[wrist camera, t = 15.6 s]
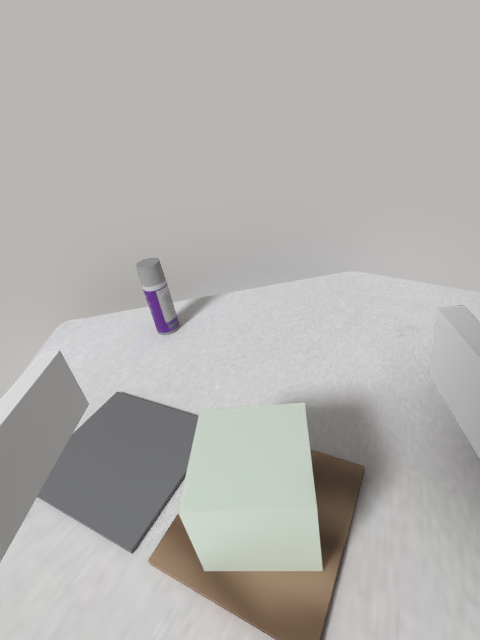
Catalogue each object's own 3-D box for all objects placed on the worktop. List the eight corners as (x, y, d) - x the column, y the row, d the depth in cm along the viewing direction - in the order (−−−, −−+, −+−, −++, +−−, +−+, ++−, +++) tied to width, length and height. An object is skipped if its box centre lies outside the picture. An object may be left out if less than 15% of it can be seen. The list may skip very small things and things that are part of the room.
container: (153, 331, 75) (130, 265, 67) (170, 320, 78) (150, 256, 70) (167, 337, 72) (144, 269, 64) (184, 325, 75) (164, 259, 67)
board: (235, 430, 49) (234, 426, 48) (364, 470, 40) (364, 466, 40) (150, 564, 36) (147, 560, 35) (314, 662, 28) (314, 659, 27)
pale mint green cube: (218, 468, 43) (200, 409, 38) (310, 464, 41) (304, 402, 36) (204, 571, 34) (177, 511, 28) (322, 571, 32) (317, 508, 27)
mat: (118, 393, 59) (117, 391, 59) (219, 425, 50) (218, 423, 49) (20, 487, 46) (19, 484, 46) (132, 553, 37) (130, 551, 37)
